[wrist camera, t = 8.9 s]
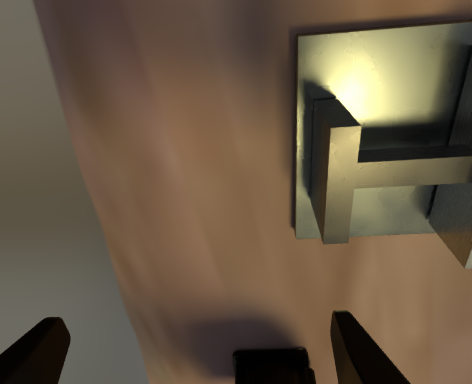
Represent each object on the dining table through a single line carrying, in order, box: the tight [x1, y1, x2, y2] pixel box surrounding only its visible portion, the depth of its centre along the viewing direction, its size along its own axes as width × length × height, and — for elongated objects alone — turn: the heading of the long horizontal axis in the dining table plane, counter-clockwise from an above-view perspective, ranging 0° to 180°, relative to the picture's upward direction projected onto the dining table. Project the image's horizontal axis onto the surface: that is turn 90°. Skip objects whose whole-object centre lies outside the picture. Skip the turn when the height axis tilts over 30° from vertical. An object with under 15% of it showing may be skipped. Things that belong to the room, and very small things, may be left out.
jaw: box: [310, 55, 472, 269], centre depth 16 cm, size 9×10×4 cm
